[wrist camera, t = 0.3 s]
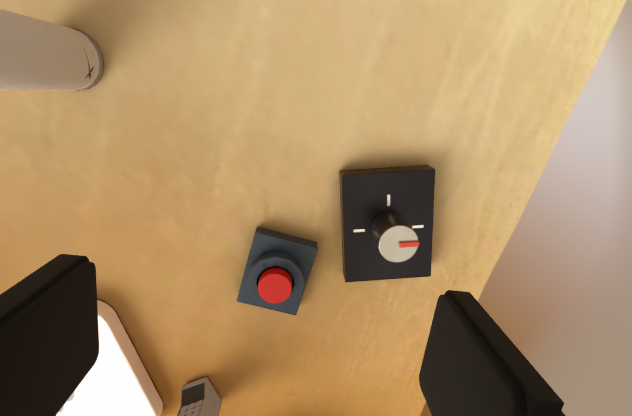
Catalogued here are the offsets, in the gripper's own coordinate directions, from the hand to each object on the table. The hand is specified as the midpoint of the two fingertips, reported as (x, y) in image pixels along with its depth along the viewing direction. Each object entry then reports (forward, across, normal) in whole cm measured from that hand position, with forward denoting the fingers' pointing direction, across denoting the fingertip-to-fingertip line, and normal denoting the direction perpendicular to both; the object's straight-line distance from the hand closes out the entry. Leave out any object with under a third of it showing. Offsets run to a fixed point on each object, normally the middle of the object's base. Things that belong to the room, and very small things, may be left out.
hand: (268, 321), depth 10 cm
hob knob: (+34, -13, +8) cm, 37 cm away
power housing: (+36, 0, +16) cm, 40 cm away
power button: (+33, 0, +16) cm, 37 cm away
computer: (+37, +28, +37) cm, 59 cm away
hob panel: (+36, -13, +8) cm, 39 cm away
